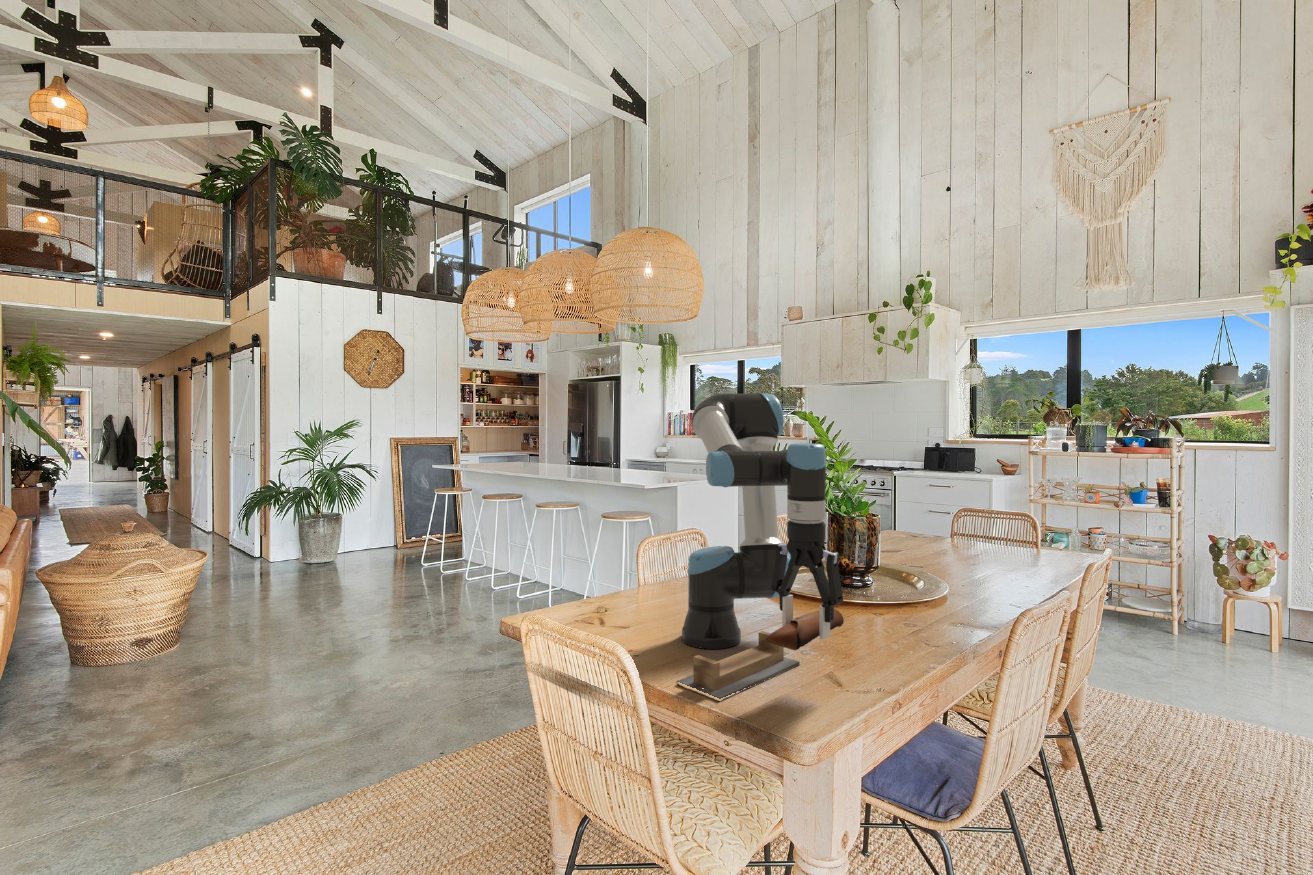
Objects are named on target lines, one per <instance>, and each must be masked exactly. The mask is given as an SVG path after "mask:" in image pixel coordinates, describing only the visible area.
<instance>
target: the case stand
mask: <svg viewBox="0 0 1313 875" xmlns="http://www.w3.org/2000/svg"><path fill="white" fill-rule="evenodd" d="M771 633H772V632H771ZM771 633H770V632H767V631H763V630H762V631H759V632H758V645H755V646H753V647H750V648H748V649H745V650H743V651H740V652H738V653H736V654H733V655H729V656H727V657H725V658H721V659H720V660H714V659H711V658H708V657H705V656H702V655H700V654H697V655H694V656H693V658H692V659H693V660H692V661H693V666H692V670H693V674H692V675H689V676H686V677H684V678H681V679H679V680H676V683H677V682H680V683H682V684H685V685H687V686H690V687H692V688H696V689H697V690H699V691H702V692H704V693H708V694H709V695H712V696H714V697H717V698H719V699H721V698H723V697H726V696H728V695H731V694H732V693H736V692H737V691H741V690H743V689H744V688H748V687H750V686H753V685H755V684H758V683H760V682H762V683H764V682H765V681H764V680H766V681H768V679H769V678H771V679H773V678H775V677H777V676H779V675H781V674H780V673H782V674H783V672H784V673H785V671H786V672H787V671H790V670H792V669H794V668H796V667H798V666H800V663H801V662H800V661H799V660H795V659H792V658H788V657H786V656H785V654H784V648H785V647H781V646H778V645H776V644H774V643H772V642H769V641H768V640H767V639H766V638H767V637H768V636H769V635H770V634H771ZM778 674H779V675H778ZM776 675H777V676H776ZM774 676H775V677H774ZM772 677H773V678H772ZM769 680H770V679H769ZM763 681H764V682H763ZM760 684H761V683H760ZM758 685H759V684H758ZM753 687H754V686H753ZM702 688H704V689H702Z"/></svg>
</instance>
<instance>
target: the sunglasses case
mask: <svg viewBox="0 0 1313 875" xmlns="http://www.w3.org/2000/svg"><path fill="white" fill-rule="evenodd" d="M819 616H820V609H819V610H816V611H812V612H809V613H806V614H803V615H800V616H798V617H795V618H793V620H791V622H790V623H789V624H787V625H785V626H783V627H782V626H781V627H779V628H777V629H776V630H775V631H773V632H771V634H770V635H769V636H768V637H767V638H766V639H767V640H768V641H769V642H772V643H774V644H776V645H778V646H781V647H784V648H786V649H788V650H792V651H797V650H799V649H800V648H802V647H804V646H806V645H808V644H809V643H811V642H812V641H813V640H815V639H817V638H819ZM843 624H844V616H843V614H842V613H841V612H840V611H839V610H837V609H836V608H834V619H833V621H832V622H830V631H832V630H834V629H835V628H840V627H842V626H843Z"/></svg>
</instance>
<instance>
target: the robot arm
mask: <svg viewBox="0 0 1313 875" xmlns="http://www.w3.org/2000/svg"><path fill="white" fill-rule="evenodd" d="M782 408H783V407H782V404H781V402H780V400H779V398H777V396H776V395H775V394H772V393H762V392H757V393H756V392H754V393H750V392H748V393H746V392H745V393H724V392H723V393H717V394H712V395H710V396H708V397H706V398H704V399H703V400H702V401H701V402H700V403H699V404H697V406H696V407H695V409H694V410H693V411H692V415H691V419H690V420H691V428H692V430H693V432H694V434H695V436H696V437H698V439H700V440H701V442H702V443H703V445H704V447H705V450H706V452H707V456H706V459H705V460H706V462H705V473H706V474H705V475H706V480H707V483H708V484H709V485H710V486H711V487H722V488H730V487H732V488H733V487H742V506H743V521H744V540H743V541H742V542H741V543H740V544H739V552H737V551H736V552H735V550H734V548H733V547H732V546H728V545H723V546H721V545H715V546H708V547H703V548H700V549H697V550H695V551H693V552H692V553H691V554H690V555H689V557H688V565H687V566H688V567H687V574H688V575H687V576H688V577H687V578H688V579H687V580H688V582H687V584H688V592H687V593H688V594H687V596H688V597H687V598H688V604H687V605H688V607H687V608H688V609H687V612H686V617H685V620H684V623H683V626H682V628H681V641H682V642H683V641H684V642H683V643H684V644H686V643H687V644H688V645H687V644H686V645H687V646H690V645H692V646H691V647H694V648H697V647H701V648H700V649H704V648H706V650H722V649H728V647H729V648H732V647H735V646H737V645H739V644H740V643H741V641H742V631H741V628H740V627H739V622H738V620H737V616H736V612H735V606H734V605H735V604H734V602H735V600H736V599H738V600H739V599H742V600H743V599H773V598H779V610H780V611H781V612H782V613H781V614H782V618H781V619H782V625H781V627H783V626H785V625H787V624H789V623H790V622H791V620H793V619H794V595H793V594H791V593H792V591H791V590H792V588H793V585H794V583H795V581H796V578H797V576H798V573H799V571H800V569H801V567H804V568H807V569H808V570H809V572H810V573H811V574H812V577H813V579H814V582H815V585H816V587H817V591H818V593H819V596H820V599H821V602H822V604H821V605H819V610H820V616H819V636H818V638H819V640H825V639H827V638H829V637H831V630H830V622H832V621H833V619H834V609H835V606H837V605H840V604H842V603H844V596H843V590H842V583H841V582H842V581H841V576H840V568H839V560H840V553H839V552H836V551H835V552H831V551H829V550H827V548H826V546H825V540H826V522H825V520H826V517H827V516H826V508H827V507H826V505H827V504H826V483H827V481H826V479H827V478H826V476H827V475H826V474H827V469H826V468H827V457H826V448H825V446H824V445H823V444H821V443H808V442H807V443H802V442H799V443H791V444H789V445H788V447H787V449H782V450H773V448H774V447H775V445H776V444H777V443H778V442H779V441H778V440H779V439H778V437H781V436H782V435H783V433H784V429H785V428H784V427H785V426H784V422H785V420H784V418H785V417H784V414H783V413H784V412H783V409H782ZM777 486H779V487H780V486H781V487H782V486H783V487H784V486H785V487H786V489H787V490H786V491H787V492H786V493H787V495H786V496H787V497H786V498H787V499H786V500H787V506H786V507H787V509H786V511H787V513H786V514H787V516H786V517H787V518H788V519H789V520H788V521H787V523H786V537H787V539H788V541H787V544H786V543H785V542H783V541H782V540H781V539H780V538H779V528H778V513H777V499H776V487H777ZM823 559H824V561H823ZM823 562H825V565H824V563H823ZM825 568H826V572H825Z"/></svg>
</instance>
